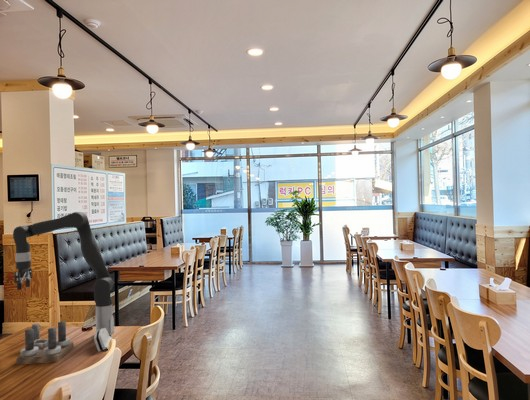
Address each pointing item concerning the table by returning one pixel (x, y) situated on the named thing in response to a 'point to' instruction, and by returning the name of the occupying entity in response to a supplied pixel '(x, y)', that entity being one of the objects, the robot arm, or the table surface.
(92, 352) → the table surface
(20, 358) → the upturned partly assembled table
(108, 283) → the robot arm
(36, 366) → the table surface
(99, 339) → the white arched grooved block
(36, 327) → the loose leg
